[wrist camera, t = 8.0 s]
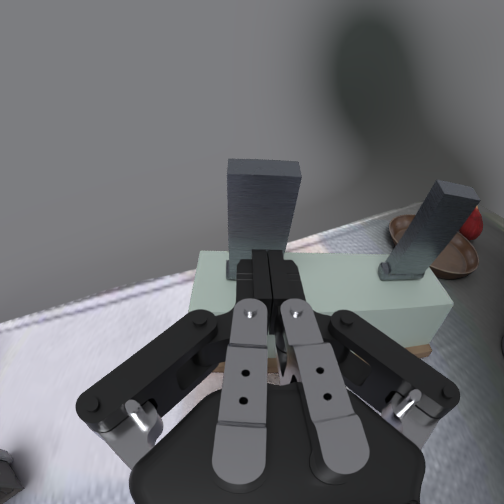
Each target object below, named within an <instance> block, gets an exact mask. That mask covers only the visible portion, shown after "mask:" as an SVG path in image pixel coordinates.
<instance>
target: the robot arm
mask: <svg viewBox="0 0 504 504" xmlns="http://www.w3.org/2000/svg"><path fill="white" fill-rule="evenodd" d="M268 328H269V335H275V346H274V351H275V356H276V361H277V366H278V371H279V377H280V383H281V386H279V385H274V384H268V383H267V360H268V347H267V335H268ZM350 350H351V351H352V352H351V351H350ZM502 350H503V354H504V336H503V339H502ZM353 352H354V353H355V354H356V355H355V354H354V353H353ZM357 355H358V356H359V357H360V358H359V357H358V356H357ZM361 358H362V359H363V360H364V361H363V360H362V359H361ZM365 361H366V362H367V363H368V364H369V365H368V364H367V363H366V362H365ZM222 362H225V369H224V377H223V384H222V389H220V390H217V391H215V392H212V393H211V394H209V395H207V396H206V397H205V398H203V399H202V400H201V401H200V402H199V403H198V404H197V405H196V406H195V407H194V408H193V409H192V410H191V411H190V412H189V413H188V414H187V415H186V416H185V417H184V418H183V419H182V420H181V421H180V422H179V423H178V424H177V425H176V426H175V427H174V428H173V429H172V430H171V431H170V432H169V433H168V434H167V435H166V436H165V437H164V438H163V439H161V440H160V441H159V442H158V443H157V444H156V445H155V442H156V440H157V438H158V437H159V436H160V435H161V433H162V431H163V421H162V419H161V418H162V417H163V416H164V415H165V414H166V413H167V412H169V411H170V410H171V409H172V408H173V407H174V406H175V405H176V404H178V403H179V402H180V401H181V400H182V399H183V398H184V397H185V396H186V395H188V394H189V393H190V392H191V391H192V390H193V389H194V388H195V387H196V386H197V385H198V384H200V383H201V382H202V381H203V380H204V379H205V378H206V377H207V376H208V375H209V374H210V373H211V372H212V371H214V370H215V369H216V368H217V367H218V365H219V363H222ZM345 385H346V386H347V387H348V388H349V389H351V390H352V391H353V392H354V393H356V394H357V395H358V396H360V397H361V398H362V399H363V400H365V401H366V402H367V403H368V404H370V405H371V406H372V407H374V408H375V409H376V410H377V411H379V412H380V413H381V416H380V415H379V414H378V413H376V412H375V411H374V410H373V409H372V408H370V407H369V406H368V405H367V404H366V403H364V402H363V401H362V400H361V399H360V398H359V397H357V396H356V395H355V394H354V393H352V392H351V391H349V390H347V389H346V387H345ZM459 400H460V392H459V389H458V387H457V386H456V385H455V384H454V383H453V382H452V381H450V380H449V379H448V378H446V377H445V376H443V375H442V374H441V373H439V372H438V371H436V370H435V369H434V368H432V367H431V366H429V365H428V364H427V363H425V362H424V361H422V360H421V359H420V358H418V357H417V356H415V355H414V354H412V353H411V352H410V351H408V350H407V349H405V348H404V347H403V346H401V345H400V344H398V343H397V342H396V341H394V340H393V339H391V338H390V337H388V336H387V335H386V334H384V333H383V332H381V331H380V330H378V329H377V328H376V327H374V326H373V325H371V324H370V323H369V322H367V321H366V320H364V319H363V318H361V317H360V316H359V315H357V314H356V313H354V312H352V311H349V310H338V311H336V312H334V313H333V314H332V316H329V315H325V314H321V313H318V312H316V311H314V310H313V309H312V307H311V306H310V304H309V303H307V302H306V299H305V294H304V290H303V286H302V282H301V278H300V275H299V270H298V266H297V265H296V264H295V263H294V261H293V260H284V258H283V253H282V250H271V249H267V251H266V249H252V252H251V259H241V260H240V261H239V263H238V264H237V275H236V303H235V306H234V307H233V308H232V309H231V310H230V311H229V312H227V313H224V314H221V315H217V316H215V315H214V314H213V313H212V312H210V311H208V310H204V309H198V310H193V311H191V312H189V313H188V314H186V315H185V316H184V317H182V318H181V319H180V320H179V321H177V322H176V323H175V324H173V325H172V326H171V327H169V328H168V329H167V330H165V331H164V332H163V333H162V334H160V335H159V336H158V337H156V338H155V339H154V340H152V341H151V342H150V343H148V344H147V345H146V346H144V347H143V348H142V349H140V350H139V351H138V352H137V353H135V354H134V355H133V356H131V357H130V358H129V359H127V360H126V361H125V362H123V363H122V364H121V365H119V366H118V367H117V368H115V369H114V370H113V371H111V372H110V373H109V374H107V375H106V376H105V377H103V378H102V379H101V380H99V381H98V382H97V383H95V384H94V385H93V386H91V387H90V388H89V389H87V390H86V391H85V392H83V393H82V394H81V395H80V396H79V398H78V399H77V402H76V412H77V414H78V416H79V417H80V418H81V419H82V420H83V421H84V422H85V423H86V424H87V426H88V427H89V428H90V429H91V430H92V431H93V432H94V433H95V434H97V435H98V436H99V437H100V438H101V439H103V440H104V441H105V442H106V443H107V444H108V445H109V446H110V447H111V448H112V450H113V451H114V452H115V453H116V454H117V455H118V456H119V457H120V458H121V460H122V461H123V462H124V463H125V464H126V465H127V466H128V467H129V468H130V469H131V470H132V471H131V474H130V478H129V489H130V493H131V496H132V498H133V500H134V502H135V504H420V491H421V485H422V481H423V478H424V474H425V459H424V456H423V453H422V452H421V449H422V447H423V446H424V444H425V443H426V441H427V439H428V438H429V436H430V435H431V433H432V431H433V430H434V428H435V426H436V425H437V423H438V421H439V420H440V419H441V418H442V417H444V416H445V415H446V414H447V413H448V412H449V411H451V410H452V409H453V408H454V407H455V406H456V405H457V404H458V402H459Z"/></svg>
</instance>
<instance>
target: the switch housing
mask: <svg viewBox="0 0 504 504" xmlns="http://www.w3.org/2000/svg"><path fill="white" fill-rule="evenodd" d="M388 257H389V255H383V254H335V253H286V252H285V253H284V260H293V261H294V263H295V264H296V265H297V266H298V270H299V275H300V278H301V282H302V286H303V290H304V294H305V299H306V302H307V303H309V304H310V306H311V307H312V309H313V310H314V311H316V312H318V313H321V314H325V315H329V316H332V314H333V313H334V312H336V311H338V310H349V311H352V312H354V313H356V314H357V315H359V316H360V317H361V318H363V319H364V320H366V321H367V322H369V323H370V324H371V325H373V326H374V327H376V328H377V329H378V330H380V331H381V332H383V333H384V334H386V335H387V336H388V337H390V338H391V339H393V340H394V341H396V342H397V343H398V344H400V345H401V346H403V347H404V348H406V347H413V346H419V345H425V344H429V343H430V342H431V340H432V339H433V337H434V336H435V334H436V332H437V331H438V329H439V328H440V326H441V325H442V323H443V321H444V320H445V318H446V316H447V315H448V313H449V311H450V310H451V308H452V306H453V305H454V303H453V301H452V300H451V298H450V297H449V295H448V294H447V292H446V291H445V289H444V288H443V286H442V285H441V283H440V282H439V280H438V279H437V277H436V276H435V275H434V273H433V272H432V270H431V269H430V268H429V267H428V269H427V270H426V271H425V274H424V277H423V278H422V279H400V280H381V279H380V278H379V275H378V267H379V264H380V263H381V262H385V261H386V259H387V258H388ZM226 260H229V251H200V255H199V260H198V265H197V269H196V274H195V279H194V284H193V289H192V294H191V299H190V305H189V310H188V312H191V311H193V310H198V309H204V310H208V311H210V312H212V313H213V314H214V315H215V316H217V315H221V314H224V313H227V312H229V311H230V310H231V309H232V308H233V307H234V306H235V303H236V280H234V279H226ZM274 346H275V335H269V328H268V335H267V347H268V358H276V356H275V351H274ZM350 351H351V350H350ZM351 352H352V351H351ZM353 353H354V352H353ZM354 354H355V353H354Z"/></svg>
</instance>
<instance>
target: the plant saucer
mask: <svg viewBox="0 0 504 504" xmlns="http://www.w3.org/2000/svg"><path fill="white" fill-rule="evenodd" d="M414 217H415V215H400V216H397V217H395V218H393V219H392V220H391V221H390V224H389V231H390V234H391V237H392V240H393V242H394V245H395V246H396V245H397V243H398V242H399V240H400V239H401V237H402V236H403V234H404V233H405V231H406V230H407V228H408V226H409V225H410V223H411V222H412V220H413V218H414ZM478 265H479V257H478V254H477V252H476V250H475V248H474V247H473V245H472V244H471V243H470V242H469V241H468V240H467V239H466V238H465V237H464V236H463V235H462V234H460V233H459V232H457V233H456V235H455V236H454V237H453V239H452V240H451V241H450V242H449V244H448V245H447V246H446V247H445V248H444V250H443V251H442V252H441V253H440V255H439V256H438V257H437V258H436V259H435V260H434V262H433V263H432V264H431V265H430V266H429V268H430V269H431V270H432V272H433V273H434V275H435V276H436V277H438V278H442V279H456V278H460V277H463V276H466V275H468V274H470V273H472V272H473V271H474V270H476V268H477V267H478Z"/></svg>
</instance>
